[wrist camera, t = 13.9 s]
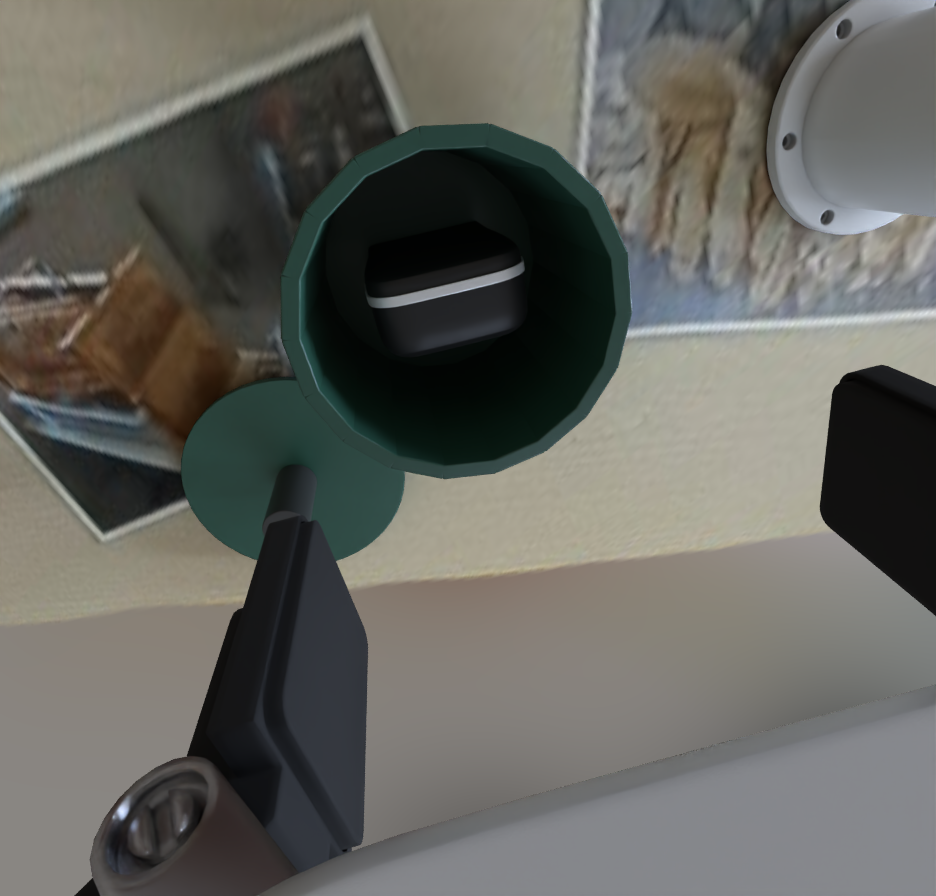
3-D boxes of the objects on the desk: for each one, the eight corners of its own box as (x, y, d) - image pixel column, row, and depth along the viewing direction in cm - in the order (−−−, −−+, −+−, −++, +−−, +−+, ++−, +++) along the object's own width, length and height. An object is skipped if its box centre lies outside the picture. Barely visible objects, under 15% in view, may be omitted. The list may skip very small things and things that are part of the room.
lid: (369, 348, 35) (369, 386, 29) (425, 527, 42) (434, 587, 36) (145, 406, 35) (99, 457, 29) (238, 577, 41) (216, 647, 36)
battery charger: (380, 311, 34) (384, 377, 24) (362, 246, 32) (358, 287, 22) (493, 284, 34) (545, 338, 24) (482, 218, 32) (532, 246, 22)
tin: (520, 108, 30) (615, 77, 19) (555, 345, 37) (641, 434, 25) (277, 168, 30) (216, 175, 18) (355, 397, 36) (348, 513, 25)
